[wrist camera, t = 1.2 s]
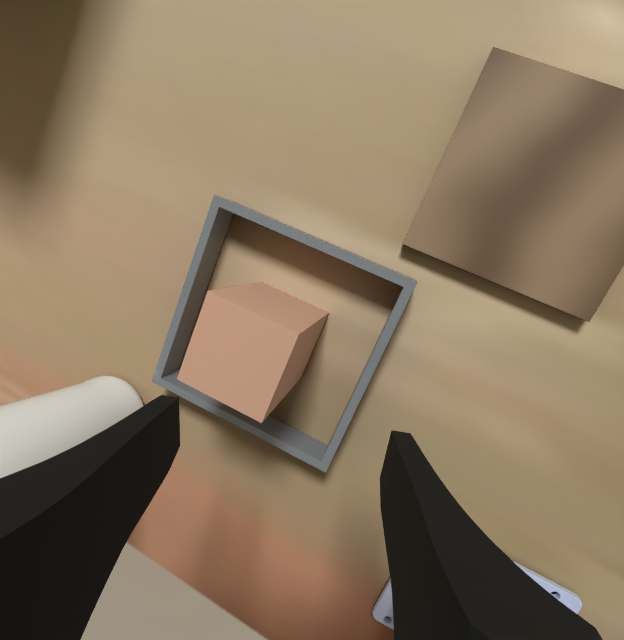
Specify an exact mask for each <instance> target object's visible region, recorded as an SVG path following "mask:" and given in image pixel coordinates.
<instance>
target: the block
mask: <svg viewBox="0 0 624 640" xmlns="http://www.w3.org/2000/svg"><path fill="white" fill-rule="evenodd" d="M328 314H329V312H327V311H324V310H322V309H320V308H318V307H316V306H313V305H311V304H309V303H307V302H305V301H303V300H300V299H298V298H296V297H294V296H292V295H289V294H287V293H285V292H283V291H281V290H279V289H276V288H274V287H272V286H270V285H268V284H265V283H263V282H261V283H255V284H248V285H242V286H235V287H229V288H223V289H216V290H210V291H207V294H206V297H205V300H204V303H203V306H202V308H201V311H200V314H199V317H198V320H197V323H196V326H195V328H194V331H193V334H192V337H191V340H190V343H189V346H188V348H187V351H186V354H185V357H184V360H183V363H182V365H181V368H180V371H179V374H178V377H177V380H179V381H181V382H183V383H185V384H187V385H189V386H191V387H193V388H195V389H197V390H199V391H200V392H202V393H204V394H206V395H208V396H210V397H212V398H214V399H216V400H218V401H220V402H222V403H224V404H226V405H227V406H229V407H231V408H233V409H235V410H237V411H239V412H241V413H243V414H245V415H247V416H249V417H251V418H252V419H254V420H256V421H258V422H260V423H262V422H263V421H264V420H265V419H266V418H267V416H268V415H269V414H270V413H271V412H272V411H273V410H274V408H275V407H276V406H277V405H278V404H279V403H280V401H281V400H282V399H283V398H284V397H285V396H286V395H287V393H288V392H289V391H290V390H291V389H292V388H293V387H294V385H295V384H296V383H297V382H298V381H299V380H300V378H301V377H302V374H303V372H304V370H305V367H306V365H307V363H308V360H309V358H310V356H311V354H312V351H313V349H314V347H315V344H316V342H317V340H318V337H319V335H320V333H321V330H322V328H323V326H324V324H325V321H326V319H327V317H328Z"/></svg>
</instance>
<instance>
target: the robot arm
mask: <svg viewBox="0 0 624 640" xmlns="http://www.w3.org/2000/svg"><path fill="white" fill-rule="evenodd" d="M179 447H180V423H179V398H178V397H171V396H165V395H161V396H159V397H157V398H156V399H154V400H152V401H151V402H149V403H147V404H146V405H144V406H143V407H141V408H140V409H138V410H136V411H135V412H133V413H132V414H130V415H128V416H127V417H125V418H124V419H122V420H120V421H119V422H117V423H115V424H114V425H112V426H110V427H109V428H107V429H105V430H103V431H102V432H100V433H98V434H96V435H94V436H93V437H91V438H89V439H87V440H85V441H84V442H82V443H80V444H78V445H76V446H74V447H72V448H70V449H68V450H66V451H64V452H62V453H60V454H58V455H56V456H53V457H51V458H49V459H47V460H45V461H42V462H40V463H38V464H35V465H33V466H30V467H28V468H25V469H23V470H20V471H18V472H15V473H13V474H10V475H8V476H5V477H2V478H0V640H80V639H81V637H82V634H83V632H84V630H85V628H86V626H87V623H88V621H89V619H90V616H91V614H92V612H93V610H94V608H95V606H96V603H97V601H98V599H99V597H100V595H101V592H102V590H103V588H104V586H105V584H106V582H107V580H108V578H109V575H110V573H111V571H112V569H113V567H114V565H115V563H116V561H117V559H118V557H119V555H120V553H121V551H122V549H123V547H124V545H125V544H126V542H127V540H128V538H129V536H130V535H131V533H132V531H133V530H134V528H135V526H136V525H137V523H138V521H139V520H140V518H141V516H142V515H143V513H144V512H145V510H146V508H147V507H148V505H149V503H150V502H151V500H152V498H153V497H154V495H155V494H156V492H157V490H158V489H159V487H160V485H161V484H162V482H163V480H164V479H165V477H166V475H167V473H168V471H169V469H170V467H171V465H172V463H173V461H174V458H175V456H176V454H177V451H178V449H179ZM380 499H381V513H382V521H383V528H384V536H385V543H386V550H387V557H388V564H389V571H390V579H389V581H388V583H387V584H386V586H385V588H384V590H383V591H382V593H381V595H380V597H379V598H378V600H377V602H376V604H375V605H374V607H373V617H374V618H375V619H376V620H377V621H378V622H380V623H382V624H384V625H385V626H387V627H389V628H391V629H392V630H394V640H602V638H601V636H600V635H599V633H598V631H597V630H596V628H595V627H593V626H592V625H591V624H589V623H588V622H587V621H585V620H584V619H583V618H581V617H580V616H579V615H577V614H578V613H579V611H580V610H581V608H582V602H581V600H580V598H579V597H578V595H576V594H575V593H573V592H571V591H569V590H568V589H566V588H564V587H562V586H560V585H558V584H556V583H554V582H552V581H550V580H548V579H546V578H545V577H543V576H541V575H539V574H537V573H535V572H533V571H531V570H529V569H527V568H525V567H523V566H521V565H520V564H518V563H516V562H514V561H512V560H511V559H510V558H509V557H508V556H507V555H506V554H505V553H504V552H502V551H501V550H500V549H499V548H498V547H497V546H496V545H495V544H494V543H493V542H492V541H491V540H490V539H489V538H488V537H487V536H486V535H485V533H484V532H483V531H482V530H481V529H480V528H479V527H478V526H477V525H476V524H475V522H474V521H473V520H472V519H471V518H470V517H469V516H468V515H467V513H466V512H465V511H464V510H463V509H462V507H461V506H460V505H459V504H458V502H457V501H456V500H455V499H454V497H453V496H452V495H451V493H450V492H449V491H448V489H447V488H446V487H445V485H444V484H443V482H442V481H441V480H440V478H439V477H438V475H437V474H436V472H435V471H434V469H433V468H432V466H431V465H430V463H429V462H428V460H427V459H426V457H425V456H424V454H423V453H422V451H421V449H420V448H419V446H418V445H417V443H416V441H415V440H414V438H413V437H412V435H411V434H410V433H405V432H398V431H391V435H390V439H389V443H388V447H387V451H386V456H385V460H384V464H383V468H382V472H381V476H380ZM551 592H557V593H556V594H550V593H551ZM385 616H389V617H390V618H386V617H385Z"/></svg>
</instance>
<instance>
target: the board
mask: <svg viewBox="0 0 624 640" xmlns="http://www.w3.org/2000/svg"><path fill="white" fill-rule="evenodd" d="M403 245H405V246H408V247H410V248H412V249H415V250H417V251H420V252H422V253H424V254H427V255H429V256H431V257H434V258H436V259H439V260H441V261H443V262H446V263H448V264H451V265H453V266H455V267H458V268H460V269H463V270H465V271H467V272H470V273H472V274H474V275H477V276H479V277H482V278H484V279H486V280H489V281H491V282H494V283H496V284H498V285H501V286H503V287H506V288H508V289H510V290H513V291H515V292H518V293H520V294H522V295H525V296H527V297H529V298H532V299H534V300H537V301H539V302H541V303H544V304H546V305H549V306H551V307H553V308H556V309H558V310H561V311H563V312H565V313H568V314H570V315H573V316H575V317H577V318H580V319H582V320H585V321H588V322H590V320H591V318H592V317H593V315H594V313H595V312H596V310H597V308H598V307H599V305H600V303H601V302H602V300H603V298H604V297H605V295H606V294H607V292H608V290H609V289H610V287H611V285H612V284H613V282H614V280H615V279H616V277H617V275H618V274H619V272H620V270H621V269H622V267H623V265H624V90H623V89H620V88H617V87H614V86H611V85H608V84H605V83H602V82H599V81H596V80H593V79H590V78H587V77H584V76H581V75H577V74H574V73H571V72H568V71H565V70H562V69H559V68H556V67H553V66H550V65H547V64H544V63H541V62H538V61H535V60H532V59H529V58H526V57H523V56H520V55H516V54H513V53H510V52H507V51H504V50H501V49H498V48H495V47H493V48H492V51H491V53H490V55H489V57H488V59H487V61H486V64H485V66H484V68H483V70H482V72H481V75H480V77H479V79H478V81H477V83H476V85H475V88H474V90H473V92H472V94H471V96H470V98H469V101H468V103H467V105H466V107H465V109H464V111H463V114H462V116H461V118H460V120H459V122H458V125H457V127H456V129H455V131H454V133H453V135H452V138H451V140H450V142H449V144H448V146H447V148H446V151H445V153H444V155H443V157H442V159H441V161H440V164H439V166H438V168H437V170H436V172H435V174H434V177H433V179H432V181H431V183H430V185H429V188H428V190H427V192H426V194H425V196H424V198H423V201H422V203H421V205H420V207H419V209H418V211H417V214H416V216H415V218H414V220H413V222H412V224H411V227H410V229H409V231H408V233H407V235H406V237H405V240H404V242H403Z"/></svg>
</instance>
